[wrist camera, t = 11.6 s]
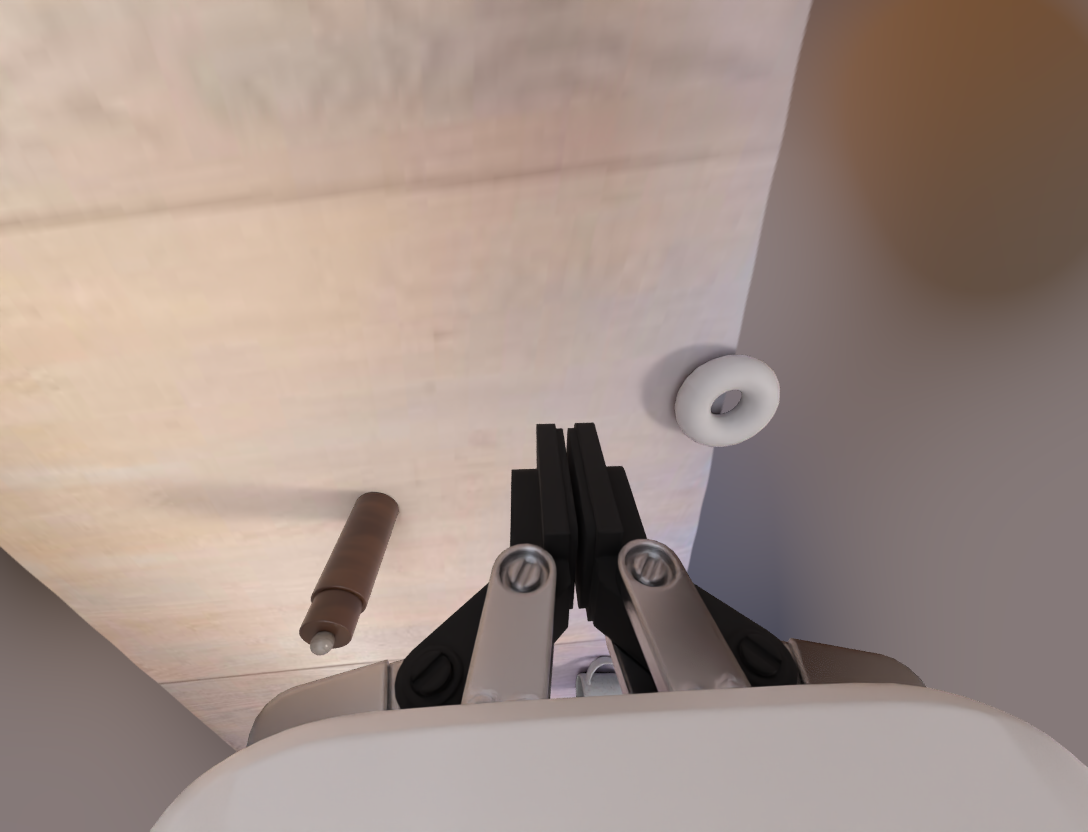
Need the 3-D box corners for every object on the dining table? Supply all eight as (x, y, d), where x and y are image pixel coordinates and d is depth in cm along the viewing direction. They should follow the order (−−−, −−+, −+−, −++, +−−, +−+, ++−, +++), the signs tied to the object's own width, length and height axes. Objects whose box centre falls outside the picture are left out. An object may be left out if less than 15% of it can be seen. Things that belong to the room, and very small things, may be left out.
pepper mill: (380, 486, 45) (319, 630, 31) (407, 512, 48) (361, 658, 34) (346, 502, 46) (272, 649, 32) (374, 527, 49) (316, 674, 35)
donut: (741, 439, 45) (788, 357, 39) (756, 459, 42) (809, 373, 37) (656, 427, 43) (692, 340, 38) (665, 447, 40) (706, 356, 35)
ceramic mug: (619, 686, 73) (629, 737, 66) (574, 687, 72) (579, 739, 66) (629, 653, 67) (641, 705, 61) (580, 654, 67) (587, 707, 60)
